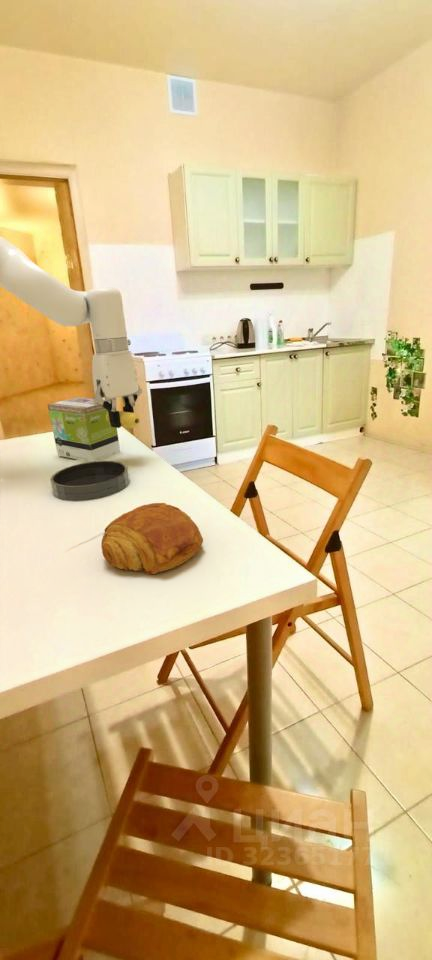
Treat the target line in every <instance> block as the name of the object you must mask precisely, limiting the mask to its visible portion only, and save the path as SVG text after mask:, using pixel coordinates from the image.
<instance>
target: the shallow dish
mask: <svg viewBox="0 0 432 960" xmlns="http://www.w3.org/2000/svg"><path fill="white" fill-rule="evenodd" d="M49 481H50V485H51V490H52V494H53V496H54V497H55V498H57V499H60V500H62V501H68V502H71V501H72V502H81V501H82V502H83V501H90V500H97V499H102V498H106V497H109V496H112V495H114V494H117V493H120V492H121V491H123V490H124V489H125V488H127V487H128V486H129V484H130V481H131V480H130V473H129V467H128V466H127V465H126V464H125V463H123V462H119V461H114V460H98V461H95V462H88V461H87V462H82V463H78V464H74V465H70V466H67V467H65V468H63V469H61V470H58V471H56V472H55V473H53V474H52V475H51V477H50V479H49Z"/></svg>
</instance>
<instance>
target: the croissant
mask: <svg viewBox="0 0 432 960" xmlns="http://www.w3.org/2000/svg"><path fill="white" fill-rule="evenodd" d="M203 542H204V538H203V536H202V534H201V531H200V529H199V526H198V525H197V524H196V523H195V522H194V520H193V519H192V518H191V517H190V515H189V514H188V513H186V512H185V511H183V510H182V509H180V508H179V507H176V506H174V505H171V504H167V503H166V502H153V503H147V504H143V505H140V506H138V507H136V508H134V509H132V510H130V511H128V512H127V511H126V512H125V513H122V514H121V515H119V516H118V517H116V518H115V519H113V520H112V521H111V522H110V523H109V524H108V525H106V527H105V528H104V533H103V535H102V538H101V553H102V556H103V558H104V560H106V561H107V562H108V563H109V565H111V566H112V567H113V568H117V569H121V570H125V571H126V572H127V571H129V570H130V571H131V570H132V571H134V572H140V571H142V573H143V574H145V575H155V574H158V573H162V572H165V571H168V570H172V569H175V568H176V567H180V565H182V564H184V563H186V562H188V561H189V560H190V559H192V558H193V556H195V555H196V554H197V552H199V551H200V550H201V547H202V546H203Z"/></svg>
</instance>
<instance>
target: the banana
mask: <svg viewBox="0 0 432 960" xmlns="http://www.w3.org/2000/svg"><path fill="white" fill-rule="evenodd" d="M118 411H119V415H120V422H121V427H123V428H129V429H134V428H137V427H138V426H139V425H140V422H141V420H140V416H139V415H138V414H137V413H135V412H134V413H131V412H123V410H118ZM106 421H107V422H108V423H109V424H110V420H109V414H108V413H107V414H106Z"/></svg>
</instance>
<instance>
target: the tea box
mask: <svg viewBox="0 0 432 960" xmlns="http://www.w3.org/2000/svg"><path fill="white" fill-rule="evenodd" d="M47 410H48V415H49V419H50V424H51V428H52V433H53V438H54V443H55V447H56V452H57V456H58V457H63V458H64V457H65V458H68V459H73V460H78V461H84V462H87V463H88V462H96V461H101V460H102V459H105V458H108V457H110V456H113V455H116V454H119V453H121V449H120V442H119V441H120V440H119V434H118V428H115V427H111V424H109V423H108V422H107V421H106V414H107V413H108V411H106V410H105V408H104V407H102V406H101V405H99V404H97V403H95V402H94V398H87V397H78V396H75V397H72V398H68V399H63V400H60V401H56V402H53V403H47Z"/></svg>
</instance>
